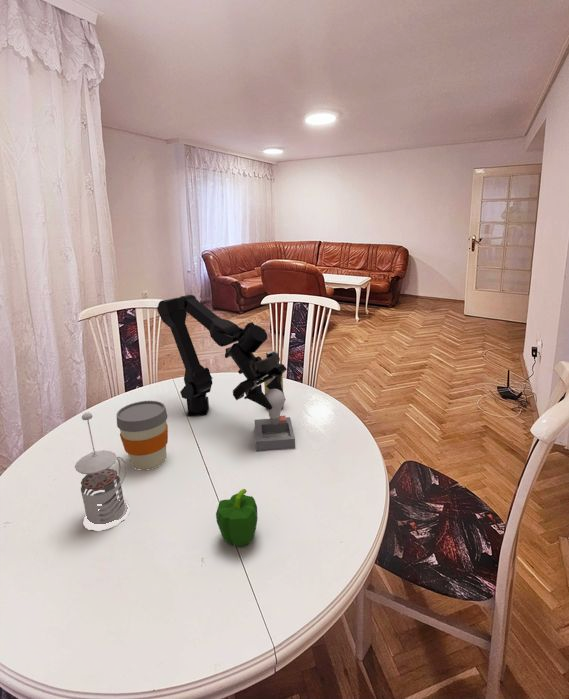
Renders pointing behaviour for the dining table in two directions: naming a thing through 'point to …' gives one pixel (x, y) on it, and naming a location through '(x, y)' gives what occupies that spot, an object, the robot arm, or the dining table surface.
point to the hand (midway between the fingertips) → (277, 405)
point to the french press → (101, 484)
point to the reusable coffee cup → (144, 433)
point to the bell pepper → (237, 519)
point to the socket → (267, 427)
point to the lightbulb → (275, 404)
